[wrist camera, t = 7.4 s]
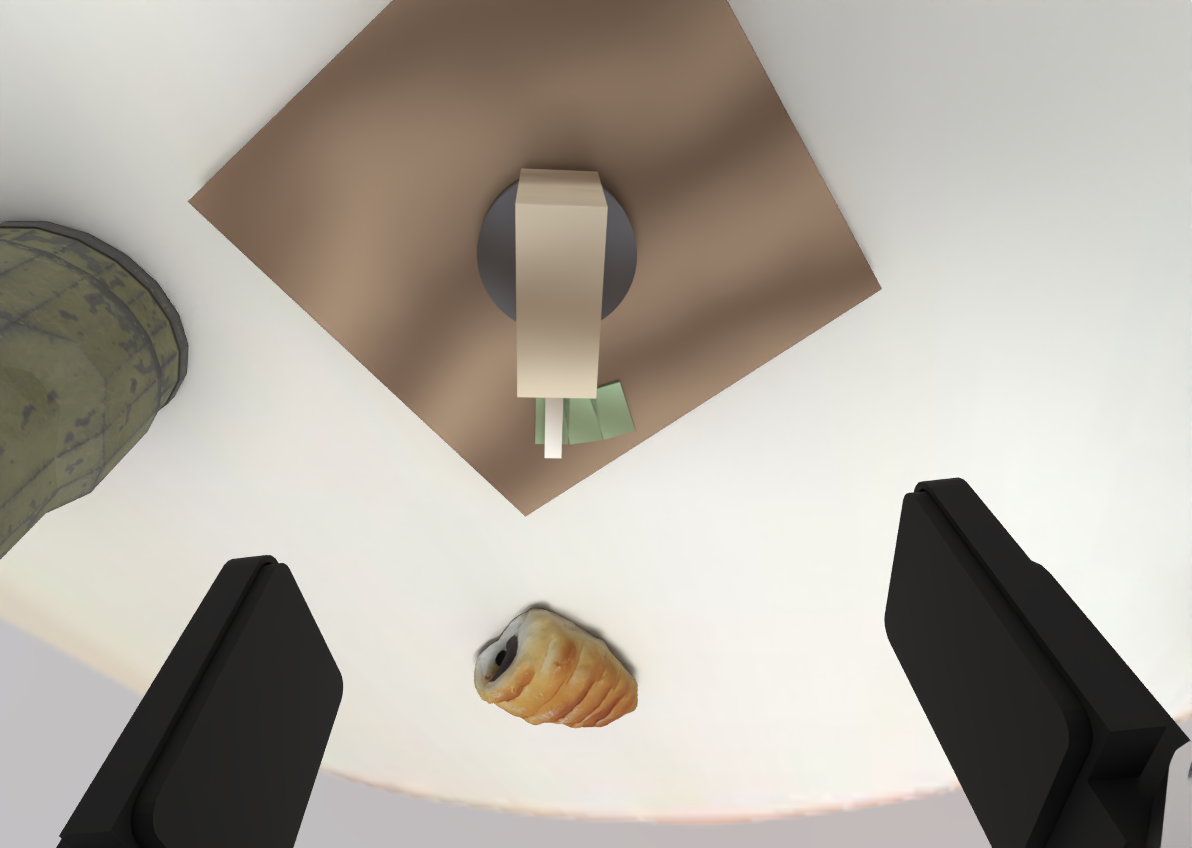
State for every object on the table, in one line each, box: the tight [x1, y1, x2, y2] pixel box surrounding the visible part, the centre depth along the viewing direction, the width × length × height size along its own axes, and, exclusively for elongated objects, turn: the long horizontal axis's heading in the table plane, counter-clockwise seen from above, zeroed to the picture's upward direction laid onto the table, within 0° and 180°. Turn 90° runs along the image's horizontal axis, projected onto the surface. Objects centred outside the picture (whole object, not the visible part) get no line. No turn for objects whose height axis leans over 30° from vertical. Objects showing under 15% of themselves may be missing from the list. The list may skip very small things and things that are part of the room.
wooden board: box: [188, 0, 882, 516], centre depth 25 cm, size 18×18×2 cm
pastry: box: [474, 608, 638, 728], centre depth 38 cm, size 9×7×4 cm
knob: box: [477, 168, 637, 458], centre depth 24 cm, size 12×6×6 cm, turn 177°
